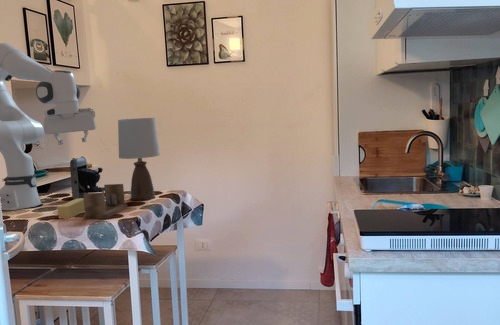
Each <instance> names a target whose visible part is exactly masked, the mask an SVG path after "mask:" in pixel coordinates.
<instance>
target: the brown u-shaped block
mask: <svg viewBox="0 0 500 325" xmlns="http://www.w3.org/2000/svg"><path fill="white" fill-rule="evenodd" d="M104 188H105V191H104V193H103V192H94V193H84V194H83V197H82V198H84V207H85V211H84V214H83V215H82V219H83V220H100V219H101V220H103V219H104V220H108V219H110V218H112V217H113V216H114V215H117V214H118V213H120V212H121V211H123V210H125V209H126V208H128V203H126V201H125V190H124V183H118V184H117V183H114V184H113V183H112V184H110V183H108V184H107V183H106V184H104ZM104 196H105V197H104Z"/></svg>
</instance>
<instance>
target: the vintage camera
mask: <svg viewBox="0 0 500 325" xmlns="http://www.w3.org/2000/svg"><path fill="white" fill-rule="evenodd" d="M87 162H88V161H87V159H86V157H85V156H80V157H76V158H75V157H73V158H71V160H70V161H69V168H70V171H69V172H70V185H71V186H70V187H71V197H72V200H75V199H77V198H84V197H83V194H84V193H104V194H105V188H104V187H102V186H101V187H99V185H97V183H99V182H100V179H101V174H100V173H102V172H103V170H104V168H102V167H97V170H95V169H91V168H88V164H87ZM104 197H105V195H104Z"/></svg>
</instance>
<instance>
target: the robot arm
mask: <svg viewBox="0 0 500 325" xmlns="http://www.w3.org/2000/svg"><path fill="white" fill-rule="evenodd" d="M12 78H15V79H18V80H25V81H34V82H35V81H36V82H39V83H38V84H37V86H36V90H35V92H36V98H37V99H38V101H39V102H41V103H42V104H45V105H55V106H53V107H51V108H48V109H46V110H45V111H44V116H45V117H44V119H43V124H41V122H40V121H37V120H35V119H33V118H32V117H29V115H27V114H26V113H25V112H24V111H22V110H21V109H20V108H19V106H18V105H17V103H16V102H15V100H14V99H13V96H11V94H10V92H9V90H8V88H7V86H6V84H5V82H10V81H12ZM80 95H81V89H80V87H79V86H78V84H77V83H76V79H75V76H74V74H73V72H72V71H69V70H58V69H57V70H54V71H52V70H51V69H50V68H48V67H46V66H45V65H43V64H41V63H39V62H38V61H36V60H34V59H32V57H30V56H28V55H27V54H25V53H24V52H23V51H21V50H20V49H19V48H17V47H15V46H14V45H12V44H10V43H6V42H1V43H0V153H1V155H2V157H3V159H4V162H5V167H6V168H5V169H6V174H7V175H6V177H5V178H2V179H1V180H2V183H3V182H4V185H2V187H0V197H1V203H2V210H1V211H16V210H22V209H27V208H32V207H33V208H34V207H37V206H39V205H42V201H41V199H40V197H39V193H38V189H37V176H36V173H35V168H34V159H33V157H32V156H31V155H30V154H29V153H26V152H25V151H23V148H22V146H23V145H30V144H34V143H36V142H40V141H41V140H43V138H44V134H45V135H53V136H54V138H55V139H56V140H57V144H58V145H61V146H62V145H63V144H64V142H63V139H60V134H64V133H65V134H66V133H74V132H75V133H76V132H83V134H84V137H81V142H82V143H86V142H87V137H88V135H89V131H94V130H96V129H97V122H96V120H95V117H96V112H95V110H94V108H90V107H87V108H80V104H79V99H80ZM21 145H22V146H21Z"/></svg>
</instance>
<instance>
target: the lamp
mask: <svg viewBox="0 0 500 325" xmlns="http://www.w3.org/2000/svg"><path fill="white" fill-rule="evenodd" d="M117 123H118V124H117V128H118V129H117V130H118V131H117V132H118V133H117V134H118V158H119V159H123V160H125V159H126V160H130V159H131V160H133V159H137V161H135V162H133V166H134V169H133V172H132V175H131V180H130V182H131V183H130V184H131V185H130V199H131V200H133V201H134V200H135V201H136V200H138V201H139V200H148V199H149V200H150V199H153V198H155V196H156V193H155V187H154V184H153V179H152V176H151V174H150V171H149V169H148V168H147V166H146V165H147V164H148V163H147V161H143V159H147V158H154V157H158V156H161V154H160V153H161V152H160V146H159V139H158V133H157V132H158V131H157V125H156V118H155V117H142V118H141V117H138V118H126V119H125V118H122V119H117Z"/></svg>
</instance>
